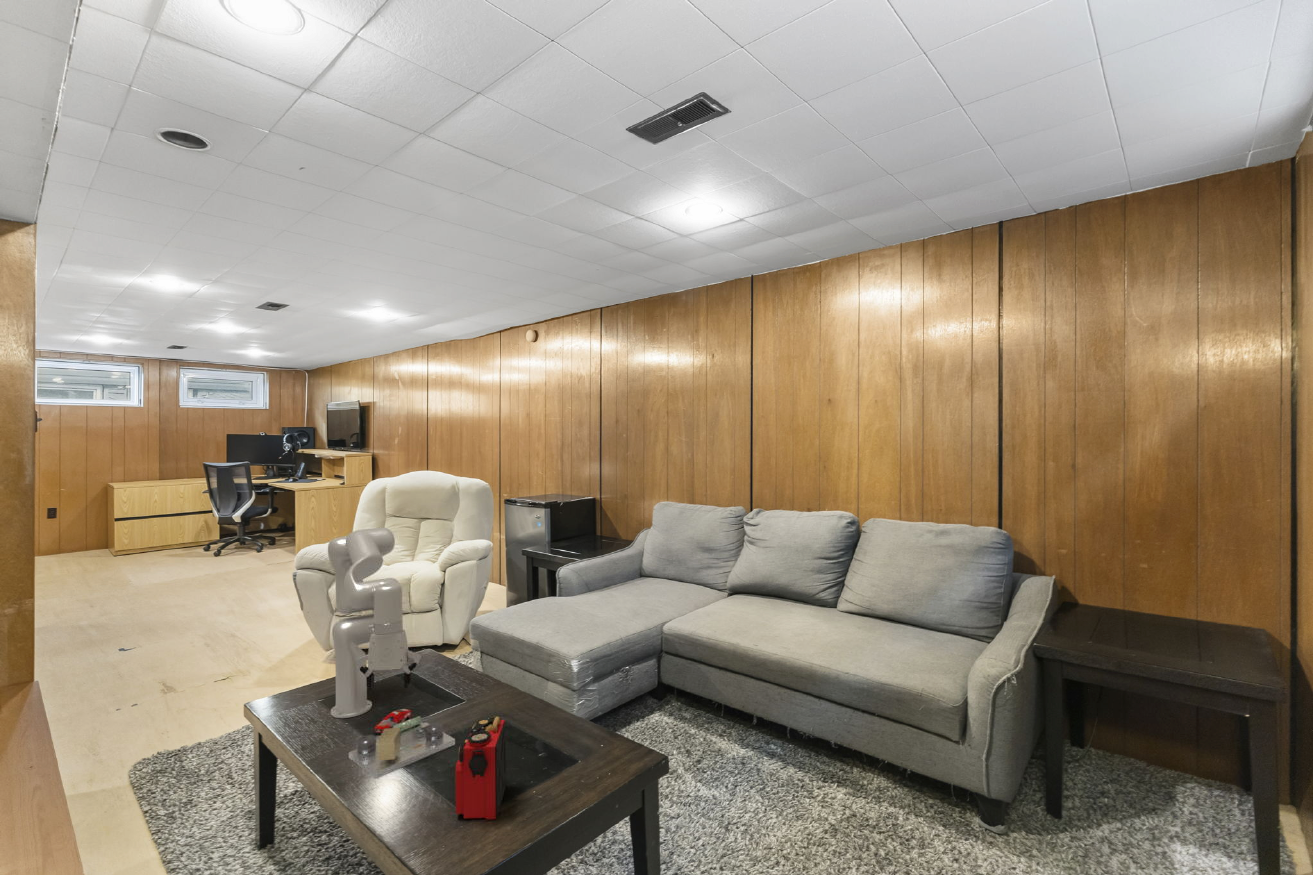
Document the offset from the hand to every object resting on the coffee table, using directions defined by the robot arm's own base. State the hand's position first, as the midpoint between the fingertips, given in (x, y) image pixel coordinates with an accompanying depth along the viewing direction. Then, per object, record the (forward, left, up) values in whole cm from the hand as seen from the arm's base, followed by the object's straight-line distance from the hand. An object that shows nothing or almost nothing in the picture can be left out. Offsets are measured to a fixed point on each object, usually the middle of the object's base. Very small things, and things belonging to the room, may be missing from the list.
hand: (389, 687), depth 173 cm
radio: (+37, +6, -22) cm, 44 cm away
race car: (-22, +12, -22) cm, 33 cm away
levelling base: (-4, +6, -22) cm, 23 cm away
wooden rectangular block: (-1, +1, -20) cm, 20 cm away
